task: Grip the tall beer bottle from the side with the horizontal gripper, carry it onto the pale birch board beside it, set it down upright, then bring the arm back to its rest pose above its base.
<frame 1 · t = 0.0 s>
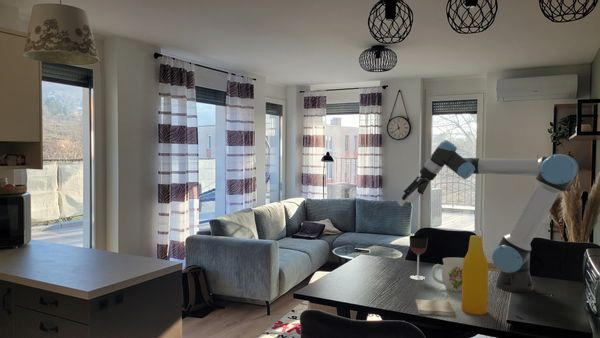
hand: (405, 203, 214), 36 cm above the table, fingers open, 13 cm apart
beer bottle: (474, 311, 166), on the table
birch board: (434, 309, 167), on the table
pitcher: (452, 289, 193), on the table
wineglass: (417, 278, 211), on the table
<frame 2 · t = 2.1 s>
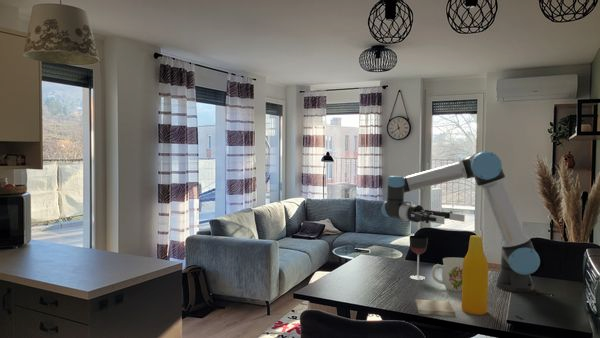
hand: (454, 219, 173), 34 cm above the table, fingers open, 13 cm apart
nothing on the table moved.
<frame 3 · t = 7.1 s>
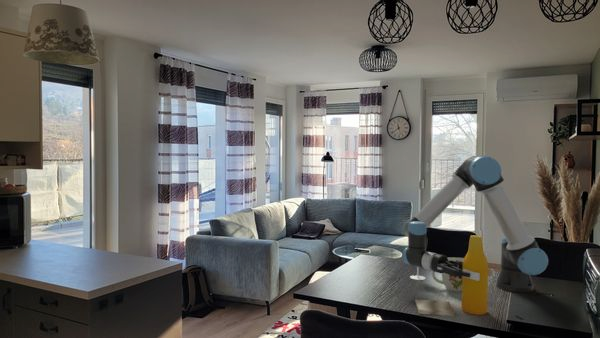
hand: (486, 274, 162), 15 cm above the table, fingers closed on beer bottle, 9 cm apart
beer bottle: (474, 311, 166), on the table, touching gripper
everything else where it was.
when the fingers open (17 cm above the table, at t = 11.3 s): beer bottle stays where it is, resting on birch board.
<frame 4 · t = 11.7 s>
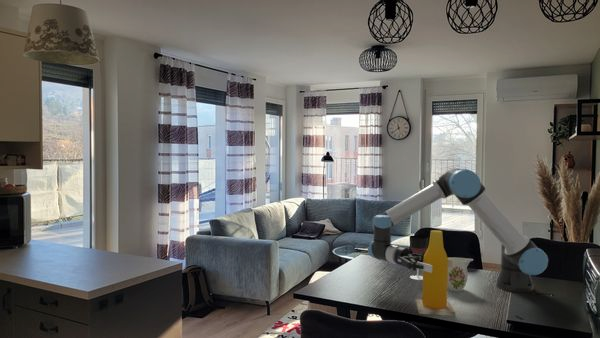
hand: (442, 266, 164), 17 cm above the table, fingers open, 13 cm apart
beer bottle: (434, 305, 167), point 1 cm above the table, touching birch board
everything else where it was.
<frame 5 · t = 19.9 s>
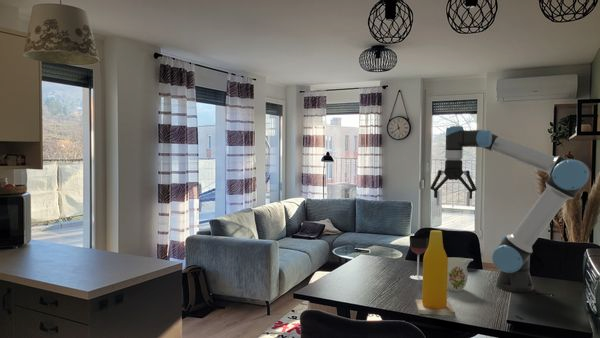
hand: (452, 205, 200), 37 cm above the table, fingers open, 13 cm apart
nothing on the table moved.
at the end: beer bottle inside the target area on the birch board (0.1 cm from its centre), point 1.3 cm above the birch board's base; beer bottle tilted 0°; the gripper is holding nothing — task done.
